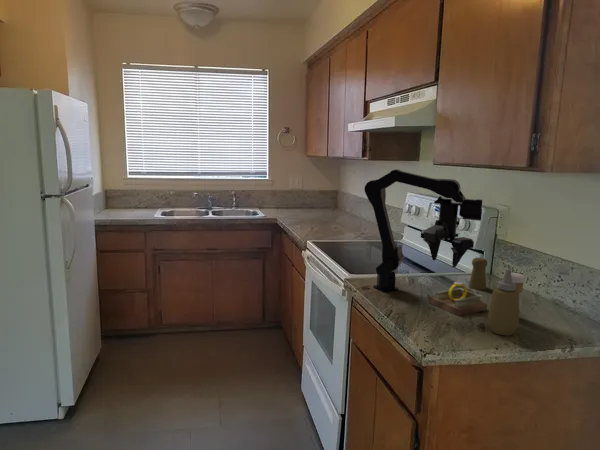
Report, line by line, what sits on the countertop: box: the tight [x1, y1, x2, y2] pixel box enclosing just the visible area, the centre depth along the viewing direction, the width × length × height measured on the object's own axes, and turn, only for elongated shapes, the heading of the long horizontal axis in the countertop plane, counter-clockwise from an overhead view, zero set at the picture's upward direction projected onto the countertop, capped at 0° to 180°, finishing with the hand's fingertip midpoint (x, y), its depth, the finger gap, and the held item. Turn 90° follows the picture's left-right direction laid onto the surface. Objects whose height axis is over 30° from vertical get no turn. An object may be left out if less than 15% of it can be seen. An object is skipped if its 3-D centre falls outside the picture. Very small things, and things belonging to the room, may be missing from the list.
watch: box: [448, 281, 468, 301], centre depth 144 cm, size 6×3×6 cm, turn 105°
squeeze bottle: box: [487, 268, 520, 337], centre depth 124 cm, size 8×8×18 cm
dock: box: [428, 287, 488, 317], centre depth 144 cm, size 13×12×4 cm
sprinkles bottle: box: [511, 272, 525, 319], centre depth 135 cm, size 5×5×14 cm
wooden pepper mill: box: [468, 257, 488, 291], centre depth 163 cm, size 6×6×11 cm
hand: (443, 263), depth 151 cm, fingers open, 9 cm apart
